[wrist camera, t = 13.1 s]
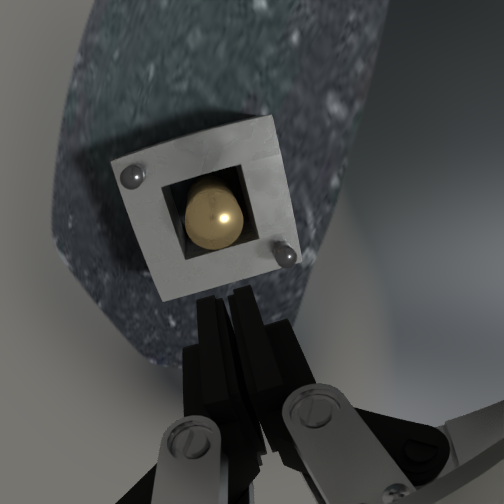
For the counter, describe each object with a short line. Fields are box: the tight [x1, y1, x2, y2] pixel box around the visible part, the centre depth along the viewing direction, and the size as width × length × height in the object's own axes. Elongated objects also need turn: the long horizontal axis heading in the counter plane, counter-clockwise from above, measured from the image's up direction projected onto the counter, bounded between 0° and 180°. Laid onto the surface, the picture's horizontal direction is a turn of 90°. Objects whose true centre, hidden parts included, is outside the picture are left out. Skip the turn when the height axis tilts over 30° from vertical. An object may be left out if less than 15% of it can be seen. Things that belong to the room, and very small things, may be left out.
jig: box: [111, 115, 302, 302], centre depth 25 cm, size 12×12×7 cm
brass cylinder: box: [185, 175, 243, 250], centre depth 25 cm, size 4×4×7 cm
